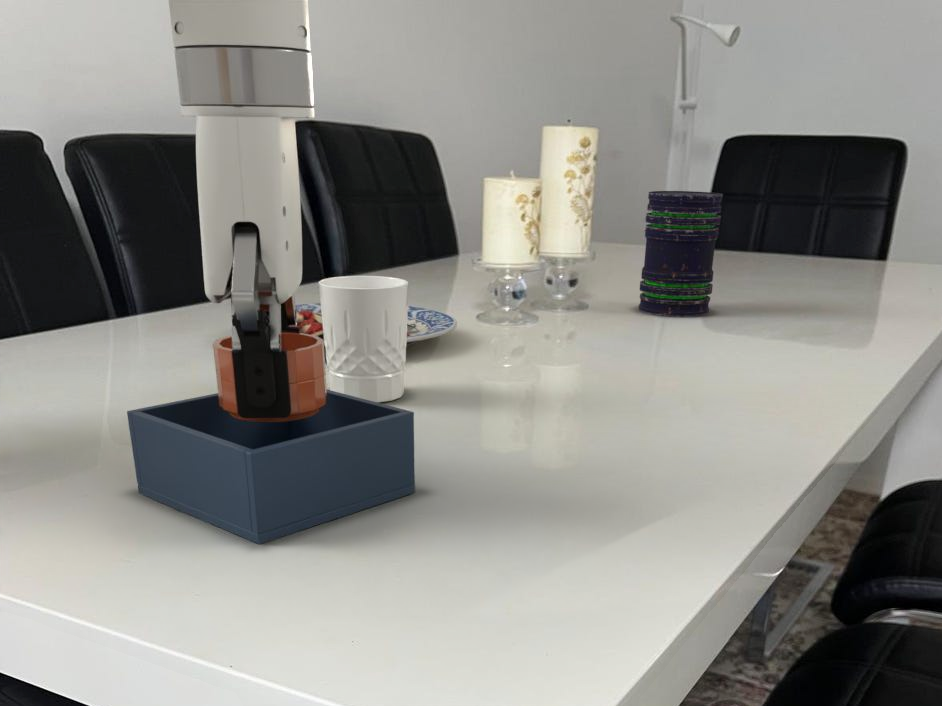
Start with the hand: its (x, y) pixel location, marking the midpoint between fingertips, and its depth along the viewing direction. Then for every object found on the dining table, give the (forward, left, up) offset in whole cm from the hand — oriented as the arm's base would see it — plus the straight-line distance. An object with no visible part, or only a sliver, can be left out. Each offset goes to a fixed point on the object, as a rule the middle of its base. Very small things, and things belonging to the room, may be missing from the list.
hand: (272, 399), depth 65 cm
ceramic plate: (-37, +39, -7) cm, 54 cm away
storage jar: (-22, +86, -7) cm, 89 cm away
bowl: (0, 0, -1) cm, 1 cm away
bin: (0, 0, -6) cm, 6 cm away
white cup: (-16, +23, -7) cm, 29 cm away
